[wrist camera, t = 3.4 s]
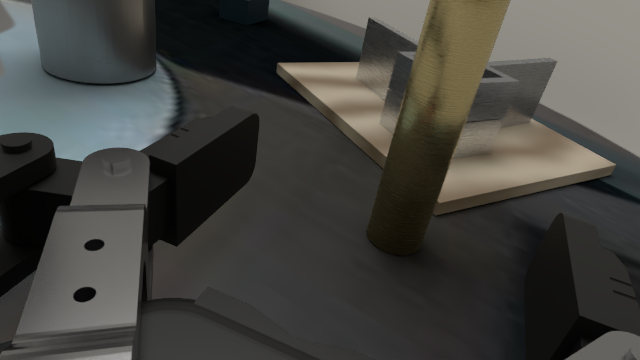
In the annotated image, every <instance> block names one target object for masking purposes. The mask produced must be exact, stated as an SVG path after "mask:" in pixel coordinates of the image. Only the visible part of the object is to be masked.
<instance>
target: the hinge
mask: <svg viewBox="0 0 640 360" xmlns="http://www.w3.org/2000/svg"><path fill="white" fill-rule="evenodd" d="M418 43H419V42H418V41H416V40H414V39H412V38H411V37H409V36H407V35H405V34H404V33H402V32H400V31H398V30H397V29H395V28H393V27H391V26H389V25H387V24H386V23H384V22H382V21H380V20H378V19H377V18H369V19H368V24H367V29H366V33H365V38H364V43H363V47H362V52H361V57H360V62H359V66H358V71H357V76H356V78H357V79H358V80H359V81H360V82H362V83H363V84H364V85H365V86H366V87H368V88H369V89H370V90H371V91H372V92H374V93H375V94H376V95H377V96H379V97H380V98H381V99H382V100H383V101H385V103H384V107H383V111H382V115H381V118H380V122H379V124H380V125H382V126H383V127H384V128H385V129H387V130H388V131H389V132H391V133H392V134H393V133H394V130H395V126H396V122H397V119H398V115H399V111H400V108H401V104H402V101H403V97H404V93H405V90H406V86H407V82H408V79H409V75H410V72H411V68H412V64H413V61H414V57H415V53H416V50H417V46H418ZM556 63H557V61H556V60H553V59H550V58H544V59H528V60H514V61H513V60H512V61H496V62H488V63H487V66H486V69H485V71H484V74H483V77H482V79H481V82H480V85H479V88H478V90H477V93H476V96H475V99H474V101H473V104H472V107H471V110H470V112H469V115H468V118H467V121H466V123H465V126H464V129H463V132H462V134H461V137H460V140H459V142H458V145H457V148H456V151H455V153H454V156H453V159H458V158H464V157H471V156H477V155H484V154H490V152H491V150H492V148H493V145H494V143H495V140H496V138H497V135H498V133H499V131H500V128H504V127H509V126H514V125H519V124H524V123H529V122H530V121H531V119H532V117H533V115H534V112H535V110H536V108H537V106H538V103H539V101H540V99H541V97H542V94H543V92H544V90H545V88H546V85H547V83H548V81H549V78H550V77H551V74H552V72H553V70H554V68H555V65H556Z"/></svg>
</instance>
